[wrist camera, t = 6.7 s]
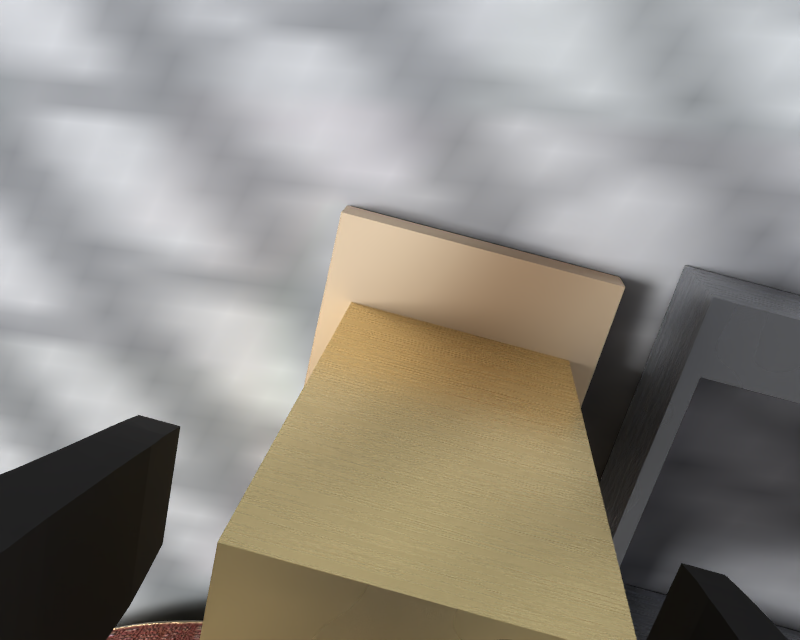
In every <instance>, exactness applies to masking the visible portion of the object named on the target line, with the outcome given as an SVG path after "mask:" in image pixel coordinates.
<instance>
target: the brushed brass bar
mask: <svg viewBox="0 0 800 640" xmlns="http://www.w3.org/2000/svg"><path fill="white" fill-rule="evenodd" d="M200 640H637V639H636V635H635V631H634V626H633V622H632V618H631V614H630V610H629V606H628V602H627V598H626V593H625V589H624V585H623V581H622V577H621V573H620V569H619V565H618V561H617V556H616V552H615V548H614V544H613V540H612V536H611V532H610V528H609V524H608V519H607V515H606V511H605V507H604V503H603V499H602V495H601V491H600V487H599V482H598V478H597V474H596V470H595V466H594V462H593V458H592V454H591V449H590V445H589V441H588V437H587V433H586V429H585V425H584V421H583V417H582V412H581V408H580V404H579V400H578V396H577V392H576V388H575V384H574V380H573V375H572V371H571V367H570V363H569V360H565V359H562V358H558V357H554V356H551V355H547V354H543V353H539V352H536V351H532V350H528V349H525V348H521V347H517V346H513V345H510V344H506V343H502V342H499V341H495V340H491V339H487V338H484V337H480V336H476V335H473V334H469V333H465V332H461V331H458V330H454V329H450V328H446V327H443V326H439V325H435V324H432V323H428V322H424V321H420V320H417V319H413V318H409V317H406V316H402V315H398V314H394V313H391V312H387V311H383V310H380V309H376V308H372V307H368V306H365V305H361V304H357V303H353V302H351V303H350V305H349V307H348V309H347V311H346V312H345V314H344V316H343V318H342V320H341V321H340V323H339V325H338V327H337V329H336V330H335V332H334V334H333V336H332V338H331V339H330V341H329V343H328V345H327V347H326V348H325V350H324V352H323V354H322V356H321V357H320V359H319V361H318V363H317V365H316V366H315V368H314V370H313V372H312V374H311V375H310V377H309V379H308V381H307V383H306V384H305V386H304V388H303V390H302V392H301V393H300V395H299V397H298V399H297V401H296V402H295V404H294V406H293V408H292V410H291V411H290V413H289V415H288V417H287V419H286V420H285V422H284V424H283V426H282V428H281V429H280V431H279V433H278V435H277V437H276V438H275V440H274V442H273V444H272V445H271V447H270V449H269V451H268V453H267V454H266V456H265V458H264V460H263V462H262V463H261V465H260V467H259V469H258V471H257V472H256V474H255V476H254V478H253V480H252V481H251V483H250V485H249V487H248V489H247V490H246V492H245V494H244V496H243V498H242V499H241V501H240V503H239V505H238V507H237V508H236V510H235V512H234V514H233V516H232V517H231V519H230V521H229V523H228V525H227V526H226V528H225V530H224V532H223V534H222V535H221V537H220V539H219V541H218V543H217V549H216V554H215V560H214V565H213V570H212V576H211V581H210V587H209V592H208V597H207V603H206V608H205V614H204V619H203V624H202V630H201V635H200Z"/></svg>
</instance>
